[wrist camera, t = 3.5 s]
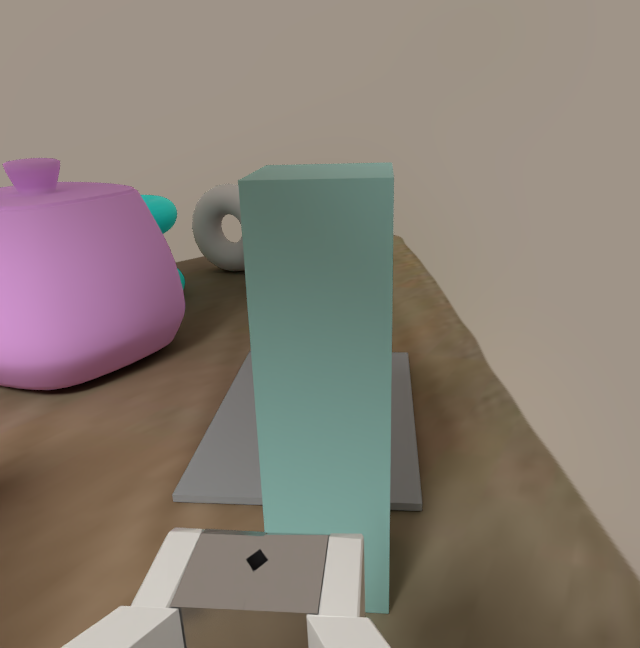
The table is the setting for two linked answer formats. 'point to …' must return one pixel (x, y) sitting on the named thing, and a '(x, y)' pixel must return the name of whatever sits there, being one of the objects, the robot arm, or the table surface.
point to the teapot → (79, 279)
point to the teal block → (323, 350)
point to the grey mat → (243, 454)
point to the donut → (218, 227)
